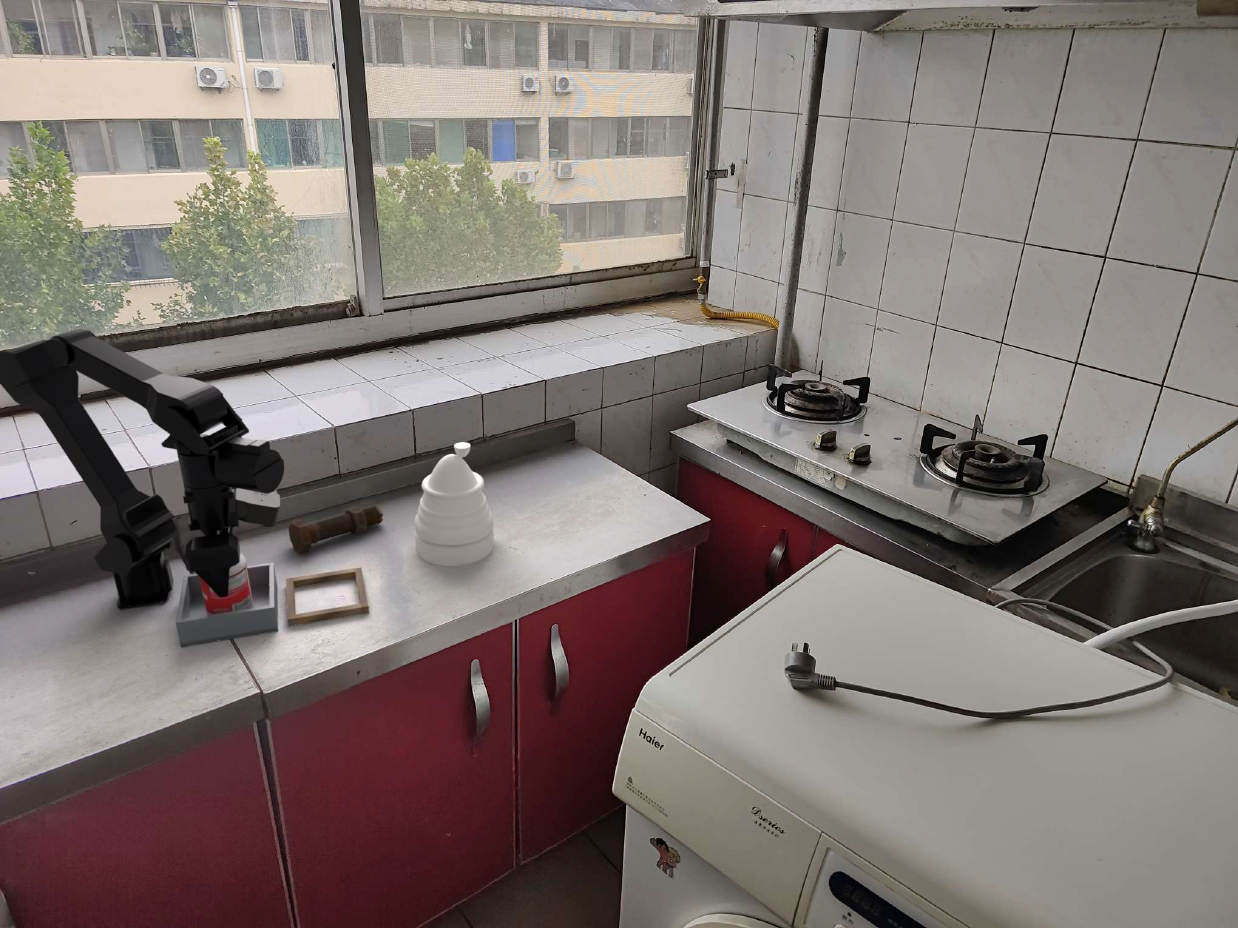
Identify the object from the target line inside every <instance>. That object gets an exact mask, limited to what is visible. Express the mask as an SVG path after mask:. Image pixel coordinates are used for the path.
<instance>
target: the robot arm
mask: <svg viewBox="0 0 1238 928" xmlns="http://www.w3.org/2000/svg"><path fill="white" fill-rule="evenodd" d="M79 373H80V374H81V375H83V376H85V377H87V378H89V379H91V380H92V381H94V382H97V383H99V385H102V386H104V387H106V388H107V389H110V390H112V391H113V392H115V393H117V394H119V395H121V396H123V397H125V398H126V399H128V400H131V401H132V402H134V403H136V404H137V405H140V406H141V407H143V408H144V409H146V412H147V414H148V416H149V418H150V420H151V422H152V423H153V424H155V425H156V426H158V427H159V428H160V429H162V430H163V431H164V432H166V433H167V434H168V437H167V438H165V439H164V440H163V441H161V442H160V443H161V444H160V445H161V447H163V448H166V449H172V450H176V454H177V458H178V464H179V470H180V473H181V479H182V480H181V481H182V483H183V484H182V485H183V488H184V489H183V495H182V498H183V503H184V504H187V511H188V513H189V514H188V515H189V519H188V529H189V532H192V531H193V532H194V531H199V530H200V532H201V533H202V534H203V536H196V537H195V536H194V537H192V538H191V539H190V540H189V541H188V542H187V544H185V545H186V546H185V550H184V551H185V552H184V556H183V557H184V558H183V559H184V564H185V569H186V571H188V572H192V573H194V574H197V575H198V576H199V577H200V578H201V579H203V580H204V582H205V583H206V584H207V585H208V586H209V587H210V588H211V589H212V590H213V591H214V592H215V593H216V594H217V595H218V596H219V597H220V598H222V597H227V596H228V590H229V572H230V568H231V567H232V566H235V565H237V564H238V563H240V553H241V548H240V541H239V537H237V536H236V535H234V534H233V533H234V532H233V531H234V530H233V529H234V528H237V527H240V522H243V523H244V522H245V523H250V524H255V525H262V526H263V527H265V528H273V527H275V525H276V522H277V518H278V515H279V513H280V512H279V511H280V508H281V495H280V494H279V493H278V490H276V489H277V488H278V487H279V486H280V484H281V482H282V480H283V477H284V475H285V474H284V473H285V461H284V459H283V458H282V457H281V454H280V452H278V451H276V450H275V449H271V445H270V441H268V440H264V439H251V438H244V437H243V436H245V435H247V434H249V432H250V430H249V428H248V427H247V426H246V424H245V423H244V421H243V418H241V416H239V414H237V412H236V411H235V410H234V408H233V407H232V405H231V403H229V402H228V401H227V399H226V398H225V397H224V393H223V392H222V391H221V390H220V389H219V388H218V387H216V386H214V385H213V384H210V383H207V382H205V381H201V380H198V379H195V378H192V377H185V376H174V375H169V374H167V373H164V372H162V371H160V370H158V369H156V368H155V367H153V366H150V365H148V364H146V363H144V362H143V361H141V360H139V359H138V358H136V357H133V356H132V355H130V354H128V353H126V352H124V351H122V350H120V349H119V348H116V347H115V346H112V345H111V344H109V343H107V342H106V341H103V340H101V339H99V338H98V337H97V336H96V334H95V333H94V332H92V331H91V330H90V329H89V330H88V329H87V328H86V329H83V328H76V329H73V330H70V331H67V332H63V333H60V334H55V335H53V336H51V337H50V338H49V339H41V340H39V341H35V342H31V343H28V344H24V345H22V346H18V347H15V348H11V349H7V350H5V351H1V352H0V386H2V388H3V389H4V390H5V392H7V394H8V395H9V397H11V398H12V400H13V401H14V402H15V403H17V404H19V405H20V406H22V407H24V408H26V409H28V410H30V411H31V412H33V413H35V414H38V416H40V418H41V419H42V420H43V422H44V425H46V427H47V428H48V429H49V431H50V433H51V434H52V435H53V437H54V439H55V440H56V442H57V443H58V446H60V448H61V449H62V450H63V452H64V454H65V455H66V457H67V458H68V460H69V461H70V462H71V464H72V465H73V468H74V469H75V470H76V472H77V473H78V475H79V476H80V478H81V480H82V481H83V483H84V484H85V486H86V487H87V489H88V490H89V492H90V493H91V495H92V496H93V498H94V499H95V501H96V502H97V504H98V506H99V507H100V512H99V513H100V519H99V520H100V521H99V522H100V525H99V529H100V532H101V534H102V535H103V537H104V540H105V541H106V544H104V545H103V547H102V548H101V549H100V550H99V551H98V552H97V553H96V554H95V555H94V556H93V557H94V560H95V562H96V564H97V565H98V567H99V569H100V570H101V571H103V572H109V573H112V576H113V580H114V582H115V587H116V592H117V596H118V600H117V604H116V605H117V608H118V609H119V610H120V609H127V608H133V607H140V606H148V605H155V604H160V603H166V602H168V601H169V597H170V593H171V591H173V587H174V576H173V572H172V568H171V563H170V560H169V559H168V558H165V555H164V552H165V551H166V550H168V549H171V548H172V546H173V540H174V538H175V536H176V531H177V529H178V528H177V525H176V522H175V520H174V518H175V515H174V513H172V512H171V511H170V510H169V508H168V507H167V505H166V503H165V501H164V499H163V498H162V496H161V495H160V494H157V493H155V494H154V495H149V494H147V493H145V492H143V491H141V490H139V489H137V487H136V486H135V484H134V482H133V481H132V479H131V478H130V476H129V475H128V473H127V472H126V470H125V468H124V467H123V466H122V464H121V462H120V461H119V459H118V458H117V456H116V455H115V453H114V452H113V450H112V448H111V447H110V446H109V444H108V442H107V441H106V439H105V437H104V436H103V434H102V432H100V430H99V428H98V426H97V425H96V423H94V420H93V418H92V417H91V416H90V414H89V412H87V409H86V407H84V404H82V402H81V400H80V398H79V385H80V384H79V381H80V379H79V378H80V376H79ZM220 425H224V427H223V428H221V429H218V430H217V431H215V432H213V433H210V434H205V433H206V432H208V431H209V430H211V429H214V428H216V427H217V426H220Z"/></svg>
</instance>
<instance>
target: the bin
mask: <svg viewBox="0 0 1238 928" xmlns="http://www.w3.org/2000/svg"><path fill="white" fill-rule="evenodd" d="M275 567H276V566H275V563H274V562H266V563H259V564H253V565H252V564H251V565H247V570H248V575H249V581H250V587H251V593H252V598H253V608H251V609H244V610H238V611H232V612H226V613H219V614H213V615H207V612H206V607H205V602H204V597H203V592H202V588H201V583H200V578H199V576H198V575H197V574H196V573H190V574H183V577H182V583H181V588H180V595H179V601H178V605H177V606H178V607H177V613H176V619H175V626H176V630H177V635H178V639H179V644H180V648H186V647H190V646H196V645H203V644H208V643H209V644H210V643H214V642H215V643H216V642H221V641H227V640H232V639H238V638H243V637H250V636H256V635H262V634H268V633H275V632H279V610H278V606H279V605H278V603H279V600H278V582H277V575H276V574H277V573H276V568H275Z"/></svg>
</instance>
